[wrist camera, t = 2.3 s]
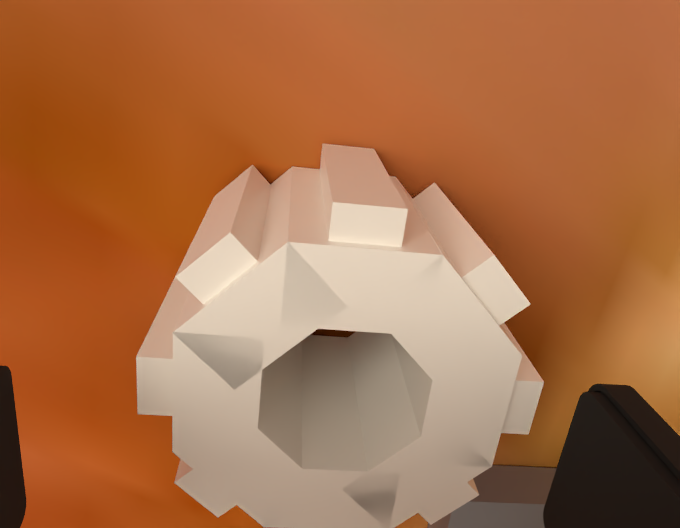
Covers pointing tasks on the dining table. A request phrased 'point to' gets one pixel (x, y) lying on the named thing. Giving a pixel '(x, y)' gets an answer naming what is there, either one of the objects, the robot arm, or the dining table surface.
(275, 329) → the loose gear
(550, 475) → the gear board
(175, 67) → the dining table surface
